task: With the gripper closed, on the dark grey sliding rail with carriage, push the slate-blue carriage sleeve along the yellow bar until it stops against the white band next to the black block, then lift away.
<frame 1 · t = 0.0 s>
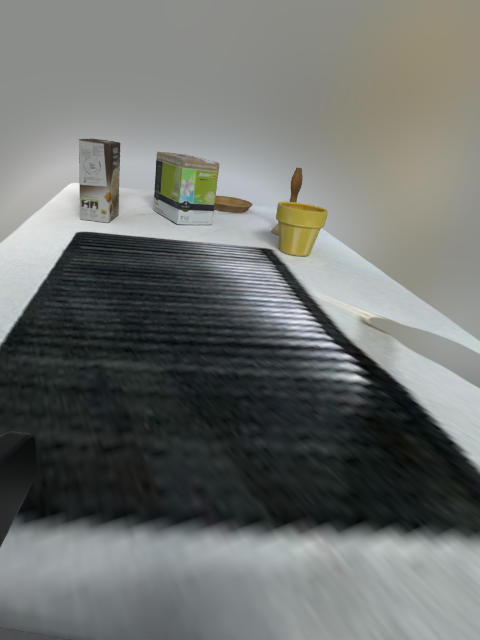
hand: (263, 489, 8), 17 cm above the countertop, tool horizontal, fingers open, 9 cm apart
coffee box: (100, 218, 94), on the countertop
hand bell: (287, 234, 106), on the countertop
plant saucer: (226, 210, 127), on the countertop
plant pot: (293, 252, 91), on the countertop
tea box: (182, 218, 106), on the countertop
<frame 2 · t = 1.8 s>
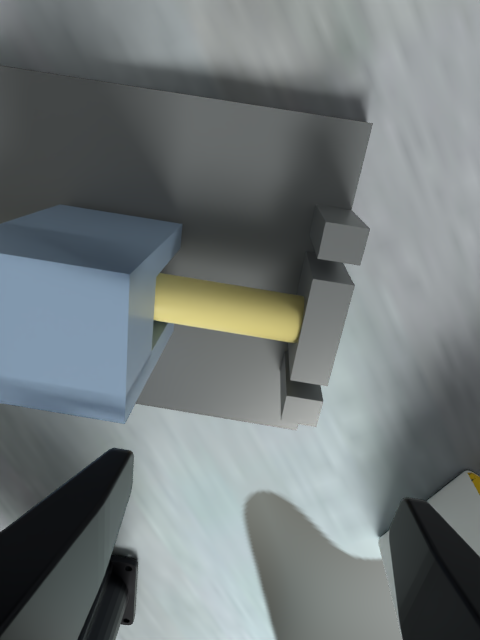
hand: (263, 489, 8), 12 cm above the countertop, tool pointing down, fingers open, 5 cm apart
sliding rail with carriage: (44, 247, 19), on the countertop
medicine bottle: (462, 529, 24), on the countertop
sleeve: (87, 298, 15), point 5 cm above the countertop, slide at 0.0 cm
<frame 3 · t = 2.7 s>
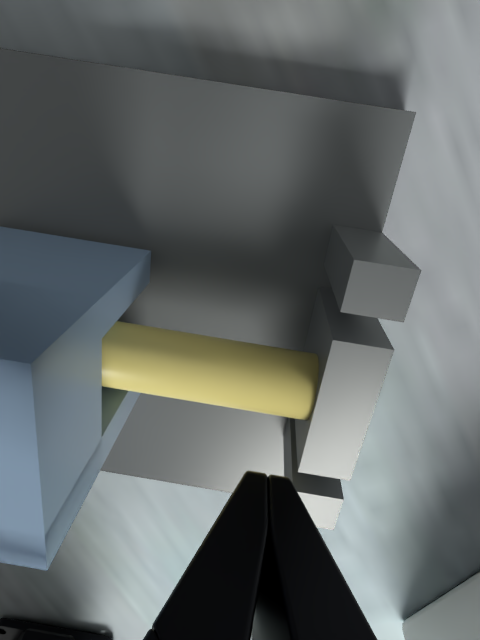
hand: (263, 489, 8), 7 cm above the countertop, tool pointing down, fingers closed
sleeve: (10, 363, 10), point 5 cm above the countertop, slide at 0.0 cm
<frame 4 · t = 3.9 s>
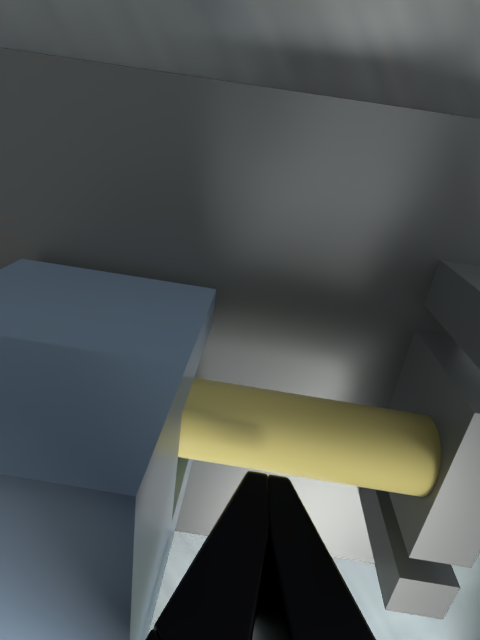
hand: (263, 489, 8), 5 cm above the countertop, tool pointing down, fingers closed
sliding rail with carriage: (11, 314, 13), on the countertop
sleeve: (61, 434, 9), point 5 cm above the countertop, slide at 0.2 cm, touching gripper
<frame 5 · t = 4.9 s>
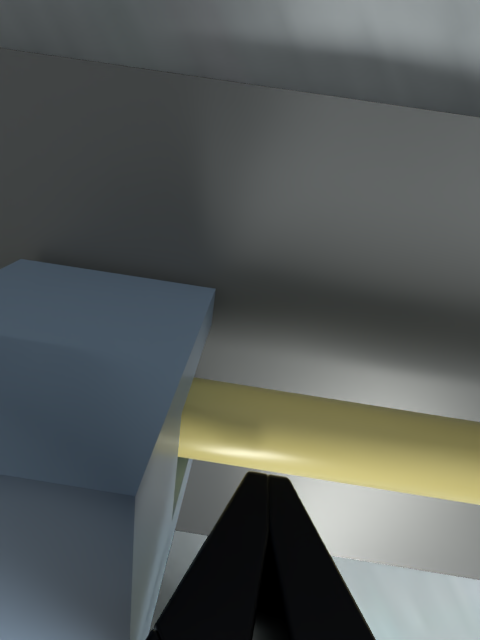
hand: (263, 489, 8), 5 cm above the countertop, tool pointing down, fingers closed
sliding rail with carriage: (191, 342, 13), on the countertop
sleeve: (61, 434, 9), point 5 cm above the countertop, slide at 5.8 cm, touching gripper
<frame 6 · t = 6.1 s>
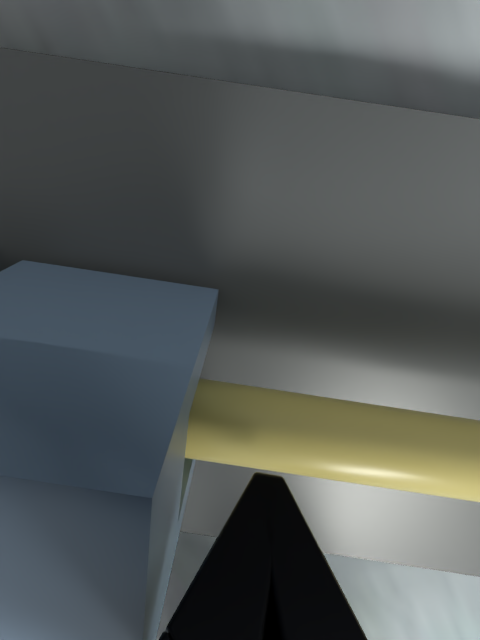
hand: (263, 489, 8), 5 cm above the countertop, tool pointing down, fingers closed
sliding rail with carriage: (344, 366, 13), on the countertop
sleeve: (66, 436, 9), point 5 cm above the countertop, slide at 10.5 cm, touching sliding rail with carriage, gripper
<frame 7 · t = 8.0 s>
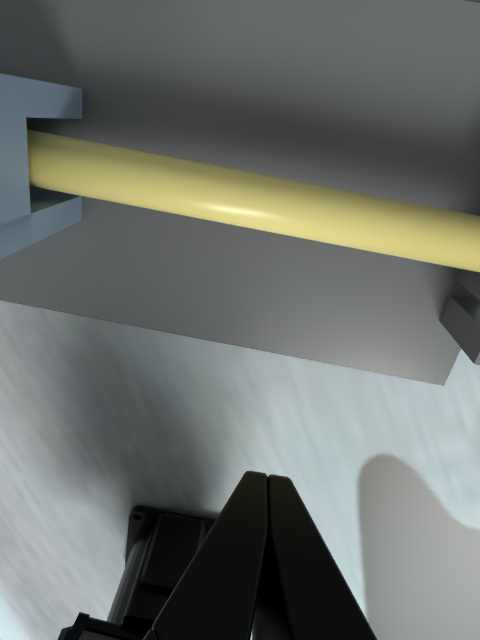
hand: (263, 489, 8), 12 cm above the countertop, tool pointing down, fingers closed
sliding rail with carriage: (190, 174, 17), on the countertop
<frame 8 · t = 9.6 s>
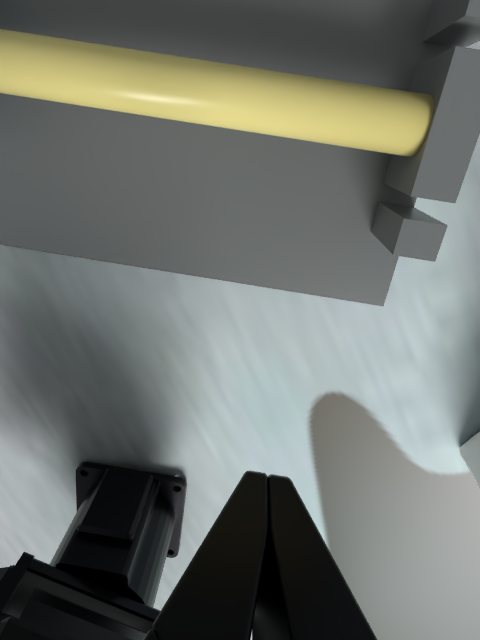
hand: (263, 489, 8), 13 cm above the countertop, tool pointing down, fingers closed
sliding rail with carriage: (101, 83, 17), on the countertop
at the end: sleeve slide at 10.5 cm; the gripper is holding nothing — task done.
